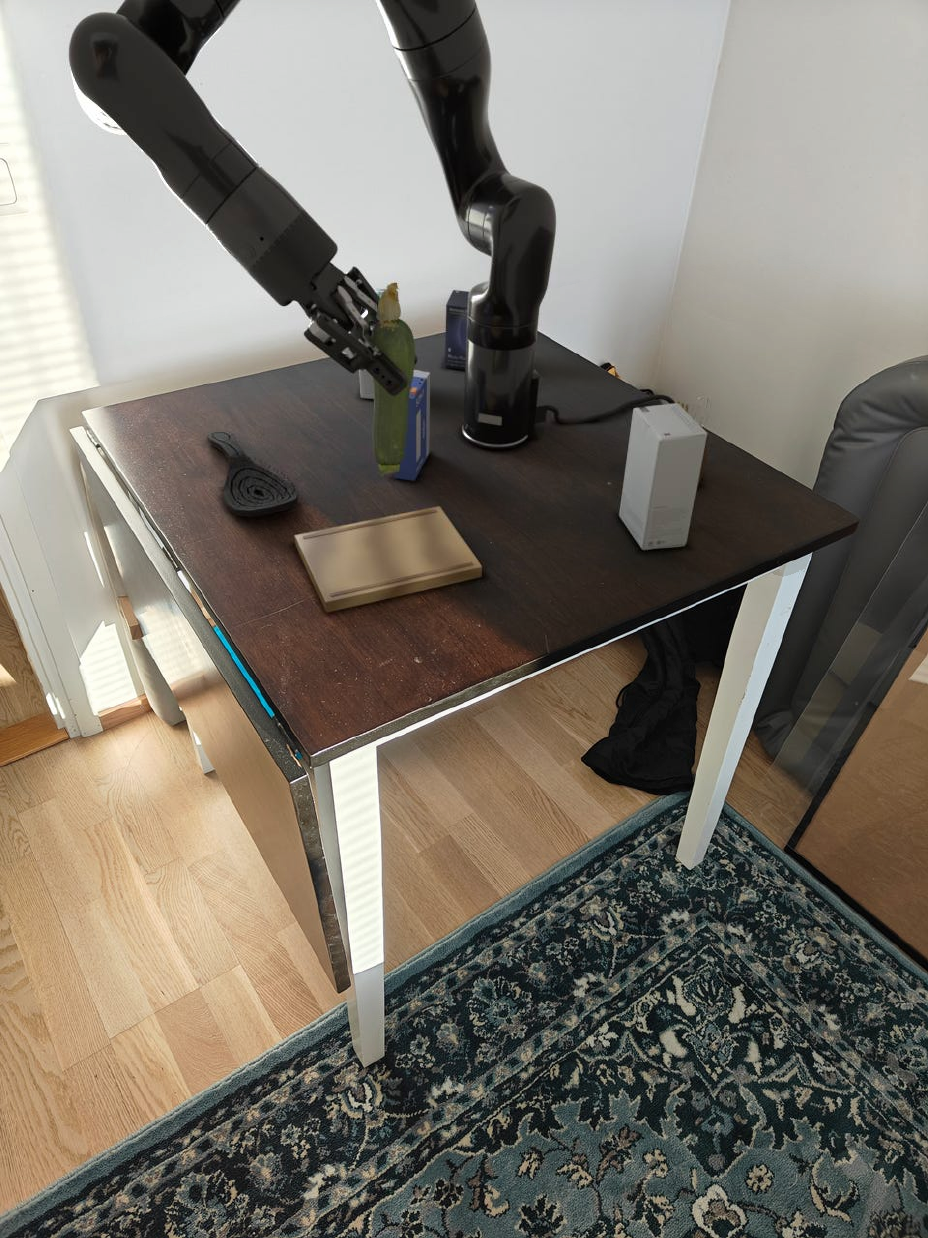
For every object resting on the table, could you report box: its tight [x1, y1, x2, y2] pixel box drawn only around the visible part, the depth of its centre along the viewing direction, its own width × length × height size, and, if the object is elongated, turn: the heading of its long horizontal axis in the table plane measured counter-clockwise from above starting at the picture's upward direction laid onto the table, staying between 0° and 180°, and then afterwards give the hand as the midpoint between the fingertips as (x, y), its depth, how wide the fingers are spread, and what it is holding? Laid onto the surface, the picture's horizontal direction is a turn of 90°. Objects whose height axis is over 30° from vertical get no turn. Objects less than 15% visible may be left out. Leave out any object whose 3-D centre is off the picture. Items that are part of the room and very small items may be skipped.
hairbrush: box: [206, 430, 299, 518], centre depth 111 cm, size 8×4×25 cm
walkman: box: [393, 369, 431, 482], centre depth 112 cm, size 8×3×12 cm, turn 167°
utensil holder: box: [676, 396, 712, 484], centre depth 111 cm, size 6×6×12 cm
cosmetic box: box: [618, 402, 707, 551], centre depth 101 cm, size 8×6×15 cm
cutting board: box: [294, 505, 483, 614], centre depth 99 cm, size 18×13×2 cm
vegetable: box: [371, 282, 416, 477], centre depth 85 cm, size 4×4×20 cm
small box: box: [444, 289, 470, 371], centre depth 137 cm, size 11×6×10 cm, turn 80°
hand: (406, 377), depth 84 cm, fingers closed on vegetable, 4 cm apart
